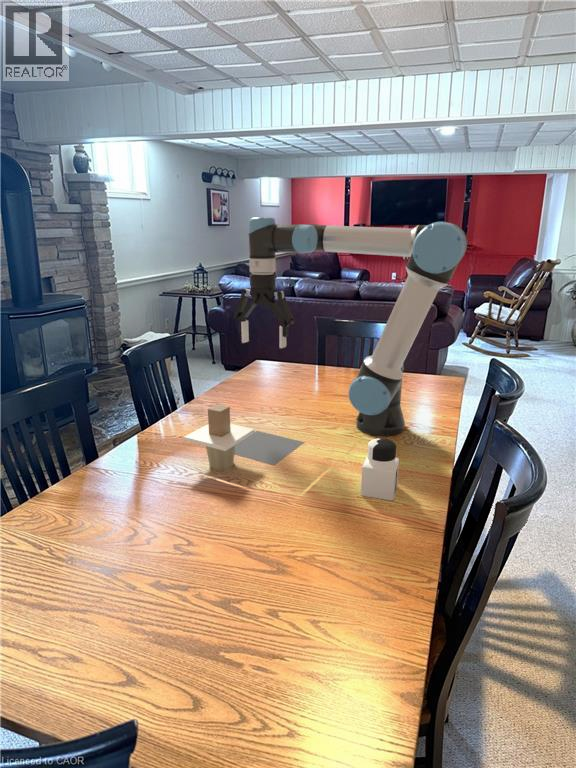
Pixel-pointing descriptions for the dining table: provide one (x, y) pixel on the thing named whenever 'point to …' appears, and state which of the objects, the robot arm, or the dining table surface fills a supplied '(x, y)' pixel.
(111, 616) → the dining table surface
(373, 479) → the container
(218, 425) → the lid
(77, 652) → the dining table surface
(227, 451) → the flower pot
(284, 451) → the mat
